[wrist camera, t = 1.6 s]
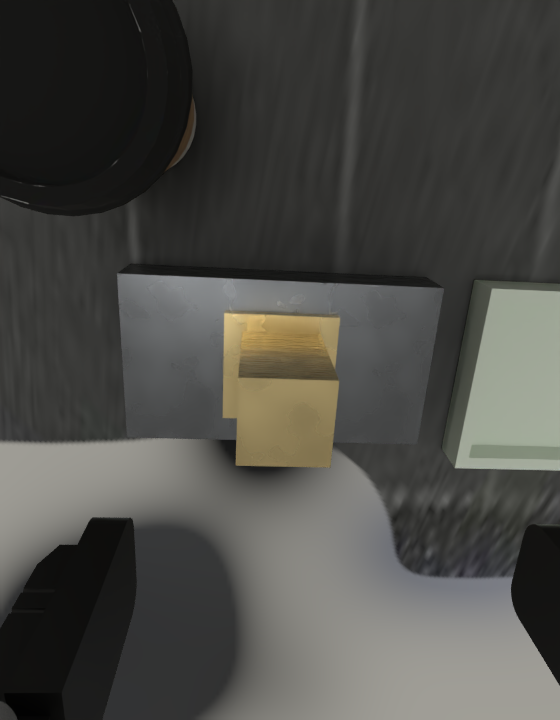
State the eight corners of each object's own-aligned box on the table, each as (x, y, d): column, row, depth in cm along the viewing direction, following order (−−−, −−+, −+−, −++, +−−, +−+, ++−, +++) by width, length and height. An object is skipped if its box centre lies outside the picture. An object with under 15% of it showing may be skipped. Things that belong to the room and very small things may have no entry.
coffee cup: (125, -18, 25) (-47, -269, 11) (252, 113, 27) (248, 49, 13) (29, 118, 27) (-225, 58, 12) (155, 229, 29) (59, 284, 15)
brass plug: (227, 298, 30) (215, 355, 21) (331, 302, 31) (364, 360, 21) (225, 393, 32) (213, 483, 23) (322, 396, 33) (349, 485, 24)
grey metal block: (130, 263, 29) (117, 273, 27) (426, 277, 31) (444, 288, 28) (138, 414, 33) (127, 437, 30) (403, 421, 34) (417, 444, 31)
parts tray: (474, 279, 31) (492, 288, 28) (657, 288, 31) (690, 297, 29) (441, 448, 35) (454, 468, 33) (604, 452, 36) (628, 471, 33)
